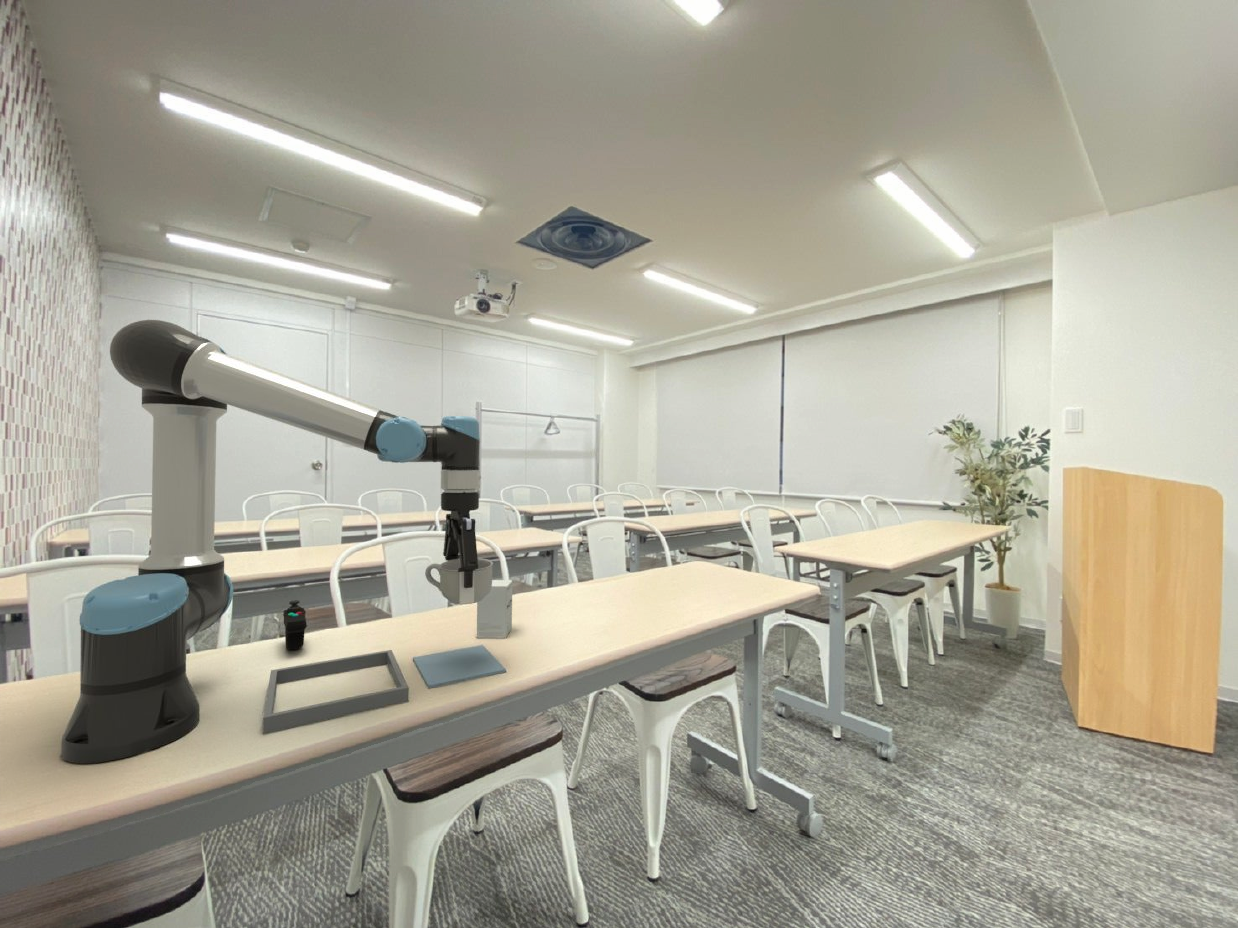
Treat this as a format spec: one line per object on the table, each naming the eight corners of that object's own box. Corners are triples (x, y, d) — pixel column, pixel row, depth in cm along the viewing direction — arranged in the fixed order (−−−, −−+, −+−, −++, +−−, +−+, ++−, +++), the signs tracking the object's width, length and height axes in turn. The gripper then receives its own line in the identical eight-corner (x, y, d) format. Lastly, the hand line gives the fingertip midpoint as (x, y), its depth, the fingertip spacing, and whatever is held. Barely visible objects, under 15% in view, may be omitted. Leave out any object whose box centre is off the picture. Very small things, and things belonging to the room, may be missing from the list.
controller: (304, 639, 119) (304, 597, 119) (307, 655, 109) (308, 609, 109) (282, 643, 116) (282, 600, 116) (284, 660, 106) (284, 613, 106)
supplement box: (506, 638, 121) (507, 586, 121) (475, 638, 121) (476, 586, 121) (512, 628, 128) (513, 579, 129) (483, 628, 128) (484, 579, 128)
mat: (428, 688, 94) (428, 685, 94) (412, 660, 107) (412, 657, 107) (506, 672, 101) (506, 669, 101) (482, 647, 115) (482, 644, 115)
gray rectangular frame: (262, 734, 77) (263, 717, 77) (270, 683, 95) (270, 670, 95) (408, 701, 88) (408, 687, 88) (391, 661, 106) (391, 649, 106)
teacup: (501, 595, 109) (501, 558, 109) (476, 609, 99) (477, 569, 99) (444, 591, 112) (444, 556, 112) (414, 604, 102) (414, 565, 102)
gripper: (495, 493, 97) (494, 608, 96) (463, 488, 116) (462, 583, 116) (456, 494, 93) (454, 613, 93) (429, 489, 112) (428, 587, 112)
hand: (459, 596), depth 104 cm, fingers closed on teacup, 11 cm apart
